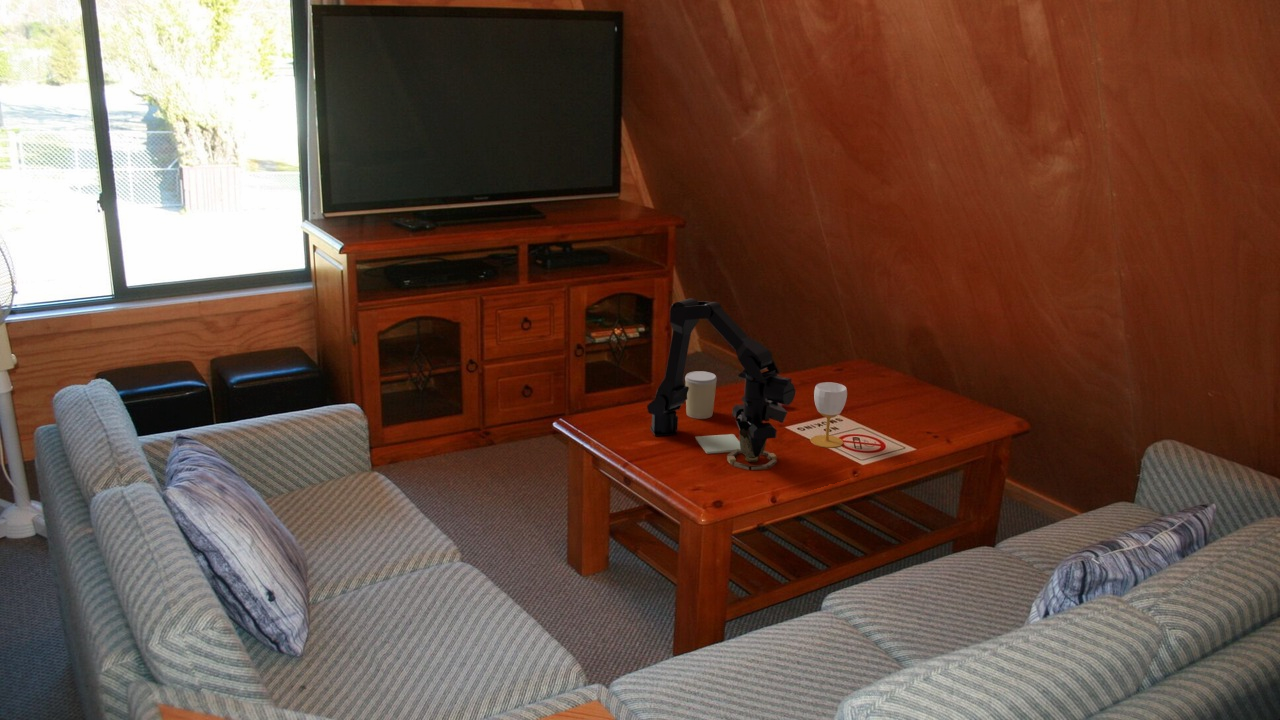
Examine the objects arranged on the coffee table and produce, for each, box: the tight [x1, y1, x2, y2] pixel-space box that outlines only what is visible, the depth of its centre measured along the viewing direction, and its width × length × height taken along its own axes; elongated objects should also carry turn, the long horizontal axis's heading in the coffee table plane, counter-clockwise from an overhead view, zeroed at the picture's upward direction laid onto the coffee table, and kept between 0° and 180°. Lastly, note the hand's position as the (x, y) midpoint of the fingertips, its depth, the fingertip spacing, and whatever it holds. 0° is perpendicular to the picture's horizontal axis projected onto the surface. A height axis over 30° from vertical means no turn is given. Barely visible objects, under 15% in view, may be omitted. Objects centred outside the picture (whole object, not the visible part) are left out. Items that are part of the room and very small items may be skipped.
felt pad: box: [695, 433, 741, 454], centre depth 287 cm, size 11×11×1 cm
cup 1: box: [738, 427, 768, 463], centre depth 275 cm, size 8×7×8 cm
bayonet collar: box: [726, 449, 778, 471], centre depth 276 cm, size 13×12×1 cm
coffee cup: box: [684, 370, 718, 420], centre depth 307 cm, size 9×9×12 cm
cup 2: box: [810, 381, 848, 449], centre depth 288 cm, size 9×9×16 cm
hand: (752, 451), depth 276 cm, fingers closed on cup 1, 7 cm apart
